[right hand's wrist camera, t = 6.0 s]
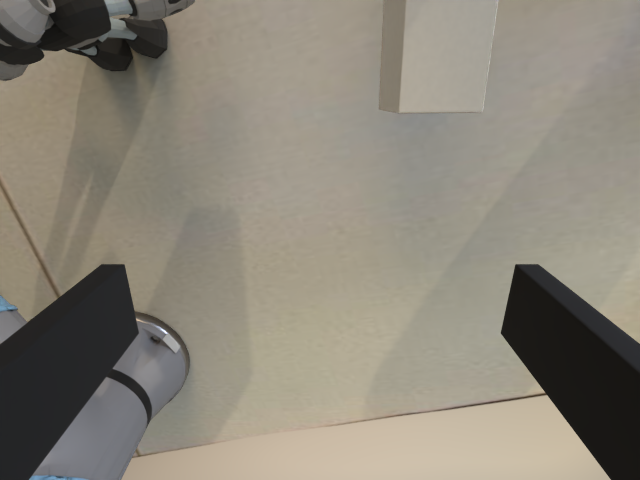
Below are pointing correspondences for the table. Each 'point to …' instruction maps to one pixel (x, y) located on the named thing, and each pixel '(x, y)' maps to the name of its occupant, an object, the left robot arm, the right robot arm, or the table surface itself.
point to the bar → (436, 55)
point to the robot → (82, 30)
